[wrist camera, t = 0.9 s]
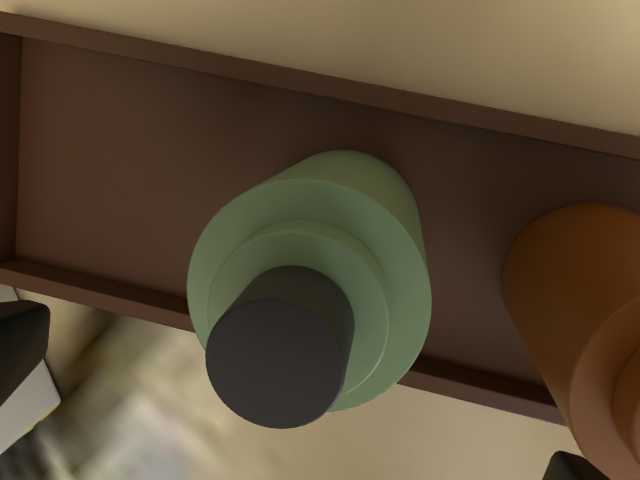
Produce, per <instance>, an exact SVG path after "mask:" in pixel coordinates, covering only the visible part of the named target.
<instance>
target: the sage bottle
mask: <svg viewBox="0 0 640 480" xmlns="http://www.w3.org/2000/svg"><path fill="white" fill-rule="evenodd" d="M187 300H188V307H189V312H190V317H191V321H192V324H193V326H194V329H195V332H196V334H197V337H198V339H199V341H200V343H201V345H202V347H203V348H204V350H205V351H206V354H205V358H206V368H207V373H208V376H209V379H210V382H211V384H212V386H213V388H214V390H215V392H216V393H217V395H218V396H219V398H220V399H221V400H222V401H223V402H224V404H226V405H227V406H228V407H229V408H230V409H231V410H232V411H233V412H235V413H236V414H237V415H239V416H240V417H242V418H244V419H245V420H247V421H250V422H252V423H254V424H257V425H260V426H264V427H269V428H277V429H288V428H295V427H299V426H303V425H306V424H308V423H311V422H313V421H315V420H316V419H318V418H320V417H321V416H322V415H324V414H325V413H326V412H334V411H340V410H345V409H349V408H352V407H356V406H359V405H361V404H363V403H366V402H368V401H370V400H372V399H374V398H376V397H377V396H379V395H381V394H382V393H384V392H386V391H387V390H388V389H389V388H391V387H392V386H393V385H394V384H396V383H397V382H398V381H399V380H400V379H401V378H402V377H403V376H404V374H405V373H406V372H407V371H408V370H409V368H410V367H411V366H412V364H413V363H414V361H415V360H416V358H417V356H418V354H419V353H420V351H421V349H422V347H423V344H424V341H425V339H426V336H427V333H428V329H429V324H430V319H431V306H432V298H431V287H430V280H429V273H428V267H427V261H426V255H425V249H424V243H423V236H422V230H421V224H420V218H419V212H418V208H417V204H416V201H415V198H414V196H413V193H412V192H411V190H410V188H409V186H408V185H407V183H406V182H405V180H404V179H403V178H402V177H401V175H400V174H399V173H398V172H397V171H396V170H395V169H393V168H392V167H391V166H390V165H388V164H387V163H386V162H384V161H382V160H381V159H379V158H377V157H375V156H372V155H370V154H367V153H364V152H360V151H355V150H341V149H338V150H330V151H325V152H321V153H318V154H315V155H313V156H310V157H308V158H306V159H305V160H303V161H301V162H299V163H297V164H295V165H294V166H292V167H290V168H288V169H286V170H284V171H283V172H281V173H279V174H277V175H275V176H273V177H272V178H270V179H268V180H266V181H264V182H263V183H261V184H259V185H257V186H255V187H253V188H252V189H250V190H248V191H246V192H244V193H243V194H241V195H239V196H238V197H236V198H234V199H233V200H232V201H230V202H229V203H228V204H227V205H225V206H224V207H223V208H222V209H221V210H220V211H219V212H218V213H217V214H216V215H215V216H214V217H213V218H212V219H211V220H210V222H209V223H208V225H207V226H206V227H205V229H204V230H203V232H202V233H201V235H200V237H199V239H198V241H197V243H196V245H195V248H194V251H193V254H192V257H191V260H190V265H189V270H188V276H187Z"/></svg>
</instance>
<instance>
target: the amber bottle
mask: <svg viewBox="0 0 640 480" xmlns="http://www.w3.org/2000/svg"><path fill="white" fill-rule="evenodd" d="M501 284H502V294H503V299H504V302H505V305H506V308H507V310H508V312H509V314H510V316H511V318H512V320H513V322H514V324H515V326H516V328H517V330H518V332H519V333H520V335H521V337H522V339H523V341H524V343H525V345H526V347H527V349H528V351H529V353H530V355H531V357H532V358H533V360H534V362H535V364H536V366H537V368H538V370H539V372H540V374H541V376H542V378H543V380H544V381H545V383H546V385H547V387H548V389H549V391H550V393H551V395H552V397H553V399H554V401H555V403H556V405H557V406H558V408H559V410H560V412H561V414H562V416H563V418H564V420H565V422H566V424H567V426H568V428H569V430H570V431H571V433H572V435H573V437H574V439H575V441H576V443H577V445H578V447H579V449H580V450H581V452H582V454H583V455H584V457H585V458H586V459H587V460H588V461H589V462H590V463H591V464H592V465H594V466H595V467H596V468H597V469H598V470H600V471H601V472H602V473H603V474H605V475H606V476H607V477H608V478H609V479H611V480H640V215H639V214H637V213H635V212H632V211H630V210H628V209H625V208H623V207H620V206H616V205H613V204H607V203H600V202H585V203H576V204H572V205H567V206H564V207H561V208H558V209H555V210H553V211H551V212H549V213H547V214H545V215H543V216H542V217H540V218H538V219H537V220H535V221H534V222H533V223H532V224H530V225H529V226H528V227H527V228H526V229H525V230H524V231H523V232H522V233H521V234H520V235H519V236H518V238H517V239H516V241H515V242H514V243H513V245H512V247H511V249H510V250H509V252H508V255H507V257H506V260H505V262H504V267H503V271H502V280H501Z"/></svg>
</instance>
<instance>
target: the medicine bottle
mask: <svg viewBox="0 0 640 480" xmlns="http://www.w3.org/2000/svg"><path fill="white" fill-rule="evenodd" d="M17 300H18V298H17V296H16V293H15V291H14V289H13V287H11V286H7V285H3V284H0V302H8V301H17ZM60 402H61V400H60V397H59V394H58V392H57V390H56V387H55V385H54V383H53V380H52V378H51V376H50V373H49V371H48V369H47V366H46V364H45V362H44V359H42V361H41V362H40V363H39V364H38V365H37V367H36V368H35V369H34V370H33V371H32V372H31V373H30V374H29V376H28V377H27V378H26V379H25V380H24V381H23V382H22V383H21V385H20V386H19V387H18V388H17V389H16V390H15V391H14V392H13V394H12V395H11V396H10V397H9V398H8V399H7V400H6V401H5V403H4V404H3V405H2V406H1V407H0V456H1V455H3V454H4V453H5V452H6V451H7V450H8V449H9V448H11V447H12V446H13V445H14V444H15V443H16V442H18V441H19V440H20V439H21V438H22V437H23V436H24V435H26V434H27V433H28V432H29V431H30V430H31V429H32V428H34V427H35V426H36V425H37V424H38V423H39V422H41V421H42V420H43V419H44V418H45V417H46V416H47V415H49V414H50V413H51V412H52V411H53V410H54V409H55V408H57V407H58V405H59V404H60Z"/></svg>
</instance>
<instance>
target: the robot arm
mask: <svg viewBox="0 0 640 480" xmlns="http://www.w3.org/2000/svg"><path fill="white" fill-rule="evenodd" d="M49 326H50V310H49V308H48V307H47V306H46V305H44V304H41V303H37V302H34V301H30V300H17V301H8V302H0V407H1V406H2V405H3V404H4V403H5V401H6V400H7V399H8V398H9V397H10V396H11V395H12V394H13V392H14V391H15V390H16V389H17V388H18V387H19V386H20V385H21V383H22V382H23V381H24V380H25V379H26V378H27V377H28V376H29V374H30V373H31V372H32V371H33V370H34V369H35V368H36V367H37V365H38V364H39V363H40V362H41V361H42V359H43V358H44V356H45V354H46V351H47V348H48V338H49ZM542 480H611V479H609V478H608V477H607V476H606V475H605V474H603V473H602V472H601V471H600V470H598V469H597V468H596V467H595V466H594V465H592V464H591V463H590V462H589V461H588V460H586V459H585V458H583V457H581V456H578V455H575V454H571V453H568V452H564V451H557V452H555V453H554V454H553V456H552V457H551V459H550V462H549V464H548V467H547V469H546V472H545V474H544V477H543V479H542Z"/></svg>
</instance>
